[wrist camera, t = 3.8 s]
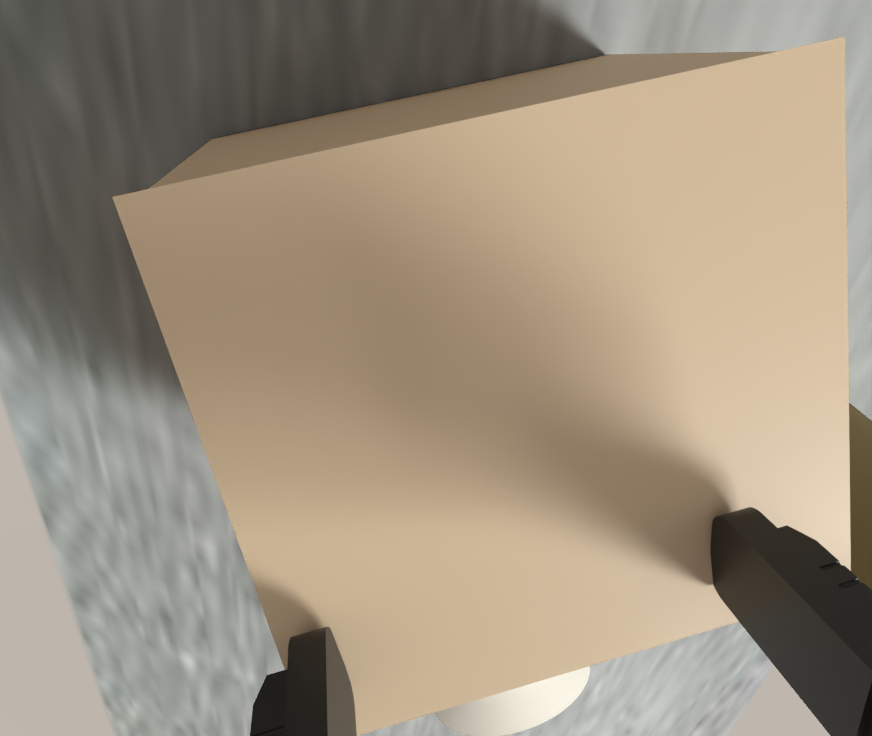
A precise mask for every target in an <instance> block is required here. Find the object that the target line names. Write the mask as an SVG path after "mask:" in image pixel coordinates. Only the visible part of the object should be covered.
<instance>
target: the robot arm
mask: <svg viewBox="0 0 872 736" xmlns="http://www.w3.org/2000/svg"><path fill="white" fill-rule="evenodd" d="M710 553H711V565H712V577H713V585H714V587H715V589H716V591H717V593H718V595H719V596H720V598H721V599H722V601H723V602H724V603H725V604H726V606H727V607H728V608H729V609H730V611H731V612H732V613H733V614H734V616H735V617H736V618H737V619H738V621H739V622H740V623H741V624H742V626H743V627H744V628H745V629H746V631H747V632H748V633H749V634H750V636H751V637H752V638H753V639H754V641H755V642H756V643H757V644H758V646H759V647H760V648H761V649H762V651H763V652H764V653H765V654H766V656H767V657H768V658H769V659H770V661H771V662H772V663H773V664H774V666H775V667H776V668H777V669H778V670H779V672H780V673H781V674H782V676H783V677H784V678H785V679H786V680H787V682H788V683H789V684H790V685H791V687H792V688H793V689H794V690H795V692H796V693H797V694H798V695H799V697H800V698H801V699H802V700H803V702H804V703H805V704H806V705H807V707H808V708H809V709H810V710H811V712H812V713H813V714H814V715H815V717H816V718H817V719H818V720H819V722H820V723H821V724H822V725H823V727H824V728H825V729H826V730H827V732H828V733H829V734H830V735H831V736H872V590H871V589H870V588H869V587H868V586H867V585H866V584H864V583H861V582H860V581H859V579H858V577H857V576H856V575H854V574H853V573H852V572H851V571H850V570H849V569H848V568H847V567H845V566H844V565H843V566H842V565H841V564H840V562H839V560H838V559H837V558H835V557H834V556H833V555H832V554H831V553H830V552H829V551H828V550H826V549H825V548H824V547H823V546H822V545H821V544H820V543H819V542H818V541H816V540H815V539H813V538H811V537H809V536H807V535H805V534H803V533H801V532H799V531H797V530H795V529H793V528H791V527H789V526H787V525H786V526H783V527H780V528H777V527H776V526H775V525H774V524H773V523H772V522H771V521H769V520H768V519H767V518H766V517H765V516H764V515H763V514H762V513H761V512H760V511H758V510H757V509H755V508H752V507H748V508H744V509H741V510H737V511H734V512H730V513H727V514H723V515H720V516H716V517H715V518H714V519H713V521H712V532H711V548H710ZM250 736H357V732H356V717H355V704H354V696H353V691H352V686H351V682H350V679H349V676H348V673H347V670H346V667H345V664H344V661H343V659H342V656H341V654H340V651H339V649H338V646H337V644H336V641H335V639H334V636H333V633H332V631H331V629H330V628H329V627H328V626H327V627H324V628H320V629H317V630H313V631H310V632H306V633H303V634H299V635H296V636H292V637H291V638H290V640H289V645H288V664H287V670H284V671H280V672H277V673H273V674H270V675H267V676H266V679H265V681H264V683H263V685H262V687H261V689H260V692H259V694H258V696H257V698H256V700H255V702H254V705H253V713H252V723H251V733H250Z"/></svg>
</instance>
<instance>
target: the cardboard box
mask: <svg viewBox="0 0 872 736" xmlns="http://www.w3.org/2000/svg"><path fill="white" fill-rule="evenodd" d="M769 53H773V52H728V53H672V54H616V55H603V56H598V57H593V58H589V59H584V60H579V61H575V62H570V63H565V64H560V65H556V66H551V67H546V68H542V69H537V70H532V71H528V72H523V73H518V74H514V75H509V76H504V77H500V78H495V79H490V80H486V81H481V82H476V83H472V84H467V85H462V86H457V87H453V88H448V89H443V90H439V91H434V92H429V93H425V94H420V95H415V96H411V97H406V98H401V99H397V100H392V101H387V102H383V103H378V104H373V105H368V106H364V107H359V108H354V109H350V110H345V111H340V112H336V113H331V114H326V115H322V116H317V117H312V118H308V119H303V120H298V121H294V122H289V123H284V124H279V125H275V126H270V127H265V128H261V129H256V130H251V131H247V132H242V133H237V134H233V135H228V136H223V137H219V138H214V139H211V140H210V141H209V142H208V143H206V144H205V145H204V146H202V147H201V148H200V149H199V150H197V151H196V152H195V153H193V154H192V155H191V156H190V157H188V158H187V159H186V160H185V161H183V162H182V163H181V164H179V165H178V166H177V167H176V168H174V169H173V170H172V171H170V172H169V173H168V174H167V175H165V176H164V177H163V178H162V179H160V180H159V181H158V182H156V183H155V184H154V185H153V186H151V187H150V188H149V189H151V188H155V187H160V186H164V185H169V184H174V183H178V182H183V181H187V180H192V179H196V178H201V177H206V176H210V175H215V174H219V173H224V172H229V171H233V170H238V169H242V168H247V167H251V166H256V165H261V164H265V163H270V162H274V161H279V160H283V159H288V158H293V157H297V156H302V155H306V154H311V153H316V152H320V151H325V150H329V149H334V148H338V147H343V146H348V145H352V144H357V143H361V142H366V141H370V140H375V139H380V138H384V137H389V136H393V135H398V134H403V133H407V132H412V131H416V130H421V129H425V128H430V127H435V126H439V125H444V124H448V123H453V122H457V121H462V120H467V119H471V118H476V117H480V116H485V115H490V114H494V113H499V112H503V111H508V110H512V109H517V108H522V107H526V106H531V105H535V104H540V103H544V102H549V101H554V100H558V99H563V98H567V97H572V96H577V95H581V94H586V93H590V92H595V91H599V90H604V89H609V88H613V87H618V86H622V85H627V84H631V83H636V82H641V81H645V80H650V79H654V78H659V77H664V76H668V75H673V74H677V73H682V72H686V71H691V70H696V69H700V68H705V67H709V66H714V65H718V64H723V63H728V62H732V61H737V60H741V59H746V58H750V57H755V56H760V55H764V54H769Z"/></svg>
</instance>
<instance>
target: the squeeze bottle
mask: <svg viewBox="0 0 872 736" xmlns="http://www.w3.org/2000/svg"><path fill="white" fill-rule="evenodd" d="M849 449H850V541H851V572H852V573H853V574H854V575H856V576H857V577H858V579H859V581H860V582H861V583H864V584H866V585H867V586H868V587H869V588H870V589H871V590H872V421H871V420H870V419H869V418H867V417H866V416H865V415H864V414H862V413H861V412H860V411H859V410H857V409H856V408H855V407H854V406H852V405H851V404H850V403H849Z"/></svg>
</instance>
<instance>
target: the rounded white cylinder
mask: <svg viewBox="0 0 872 736" xmlns="http://www.w3.org/2000/svg"><path fill="white" fill-rule="evenodd" d="M589 674H590V666H588V667H585V668H582V669H578V670H575V671H572V672H568V673H565V674H562V675H558V676H555V677H552V678H548V679H545V680H542V681H538V682H535V683H532V684H528V685H525V686H522V687H518V688H515V689H512V690H508V691H505V692H502V693H498V694H495V695H492V696H488V697H485V698H482V699H478V700H475V701H472V702H468V703H465V704H462V705H458V706H455V707H452V708H448V709H445V710H442V711H438V712H435V713H436V715H437V717H438V718H439V720H440V721H441V722H442V723H443V724H444V725H445V726H447V727H448V728H450V729H452V730H454V731H456V732H459V733H462V734H466V735H471V736H502V735H508V734H513V733H517V732H520V731H524V730H527V729H530V728H532V727H535V726H537V725H539V724H542V723H544V722H546V721H548V720H549V719H551V718H553V717H554V716H556V715H558V714H559V713H560V712H562V711H563V710H564V709H566V708H567V707H568V706H569V705H570V704H571V703H572V702H573V701H574V700H575V699H576V698H577V697H578V696H579V695H580V693H581V692H582V691H583V689H584V687H585V685H586V683H587V681H588V678H589Z"/></svg>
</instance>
